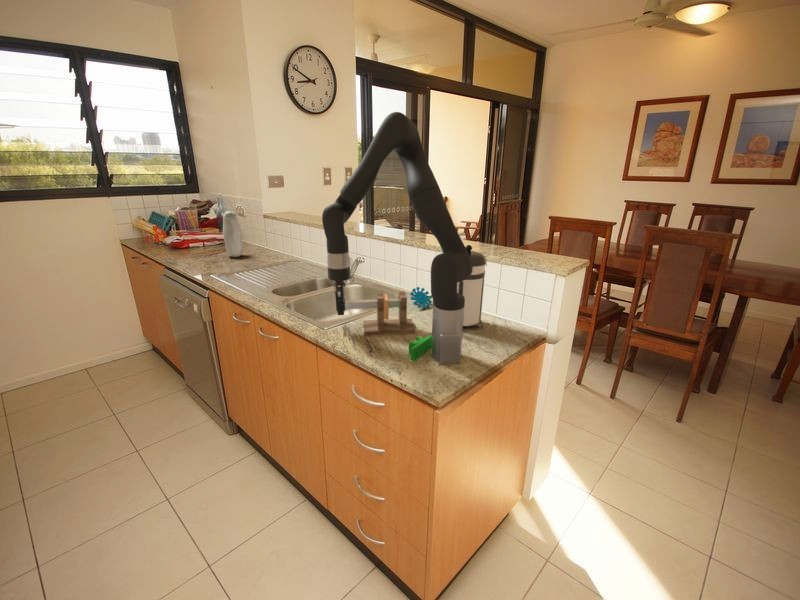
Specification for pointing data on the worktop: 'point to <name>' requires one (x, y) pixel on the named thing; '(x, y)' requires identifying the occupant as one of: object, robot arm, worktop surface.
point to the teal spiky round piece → (421, 298)
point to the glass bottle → (232, 234)
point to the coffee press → (473, 289)
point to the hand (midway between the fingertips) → (341, 312)
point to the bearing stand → (389, 326)
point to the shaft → (368, 304)
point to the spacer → (385, 306)
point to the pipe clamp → (419, 347)
